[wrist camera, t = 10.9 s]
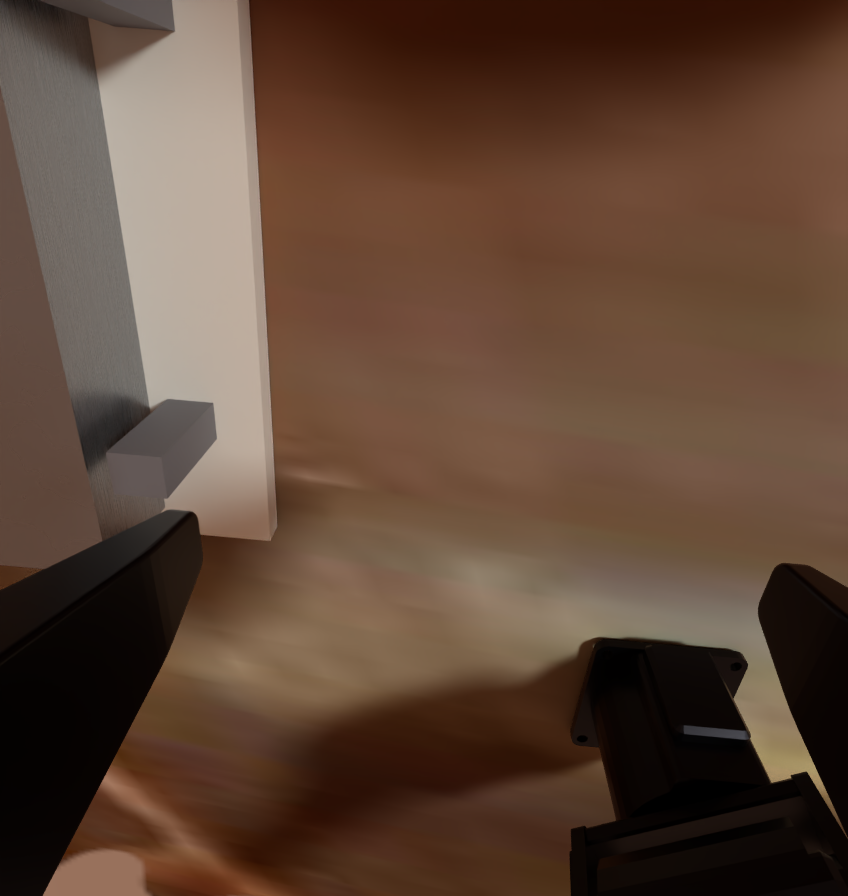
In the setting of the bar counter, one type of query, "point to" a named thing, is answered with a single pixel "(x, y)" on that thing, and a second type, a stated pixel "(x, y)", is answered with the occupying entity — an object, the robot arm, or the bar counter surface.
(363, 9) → the bar counter surface
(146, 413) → the grey square bar
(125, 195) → the collar stand
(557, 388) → the bar counter surface
